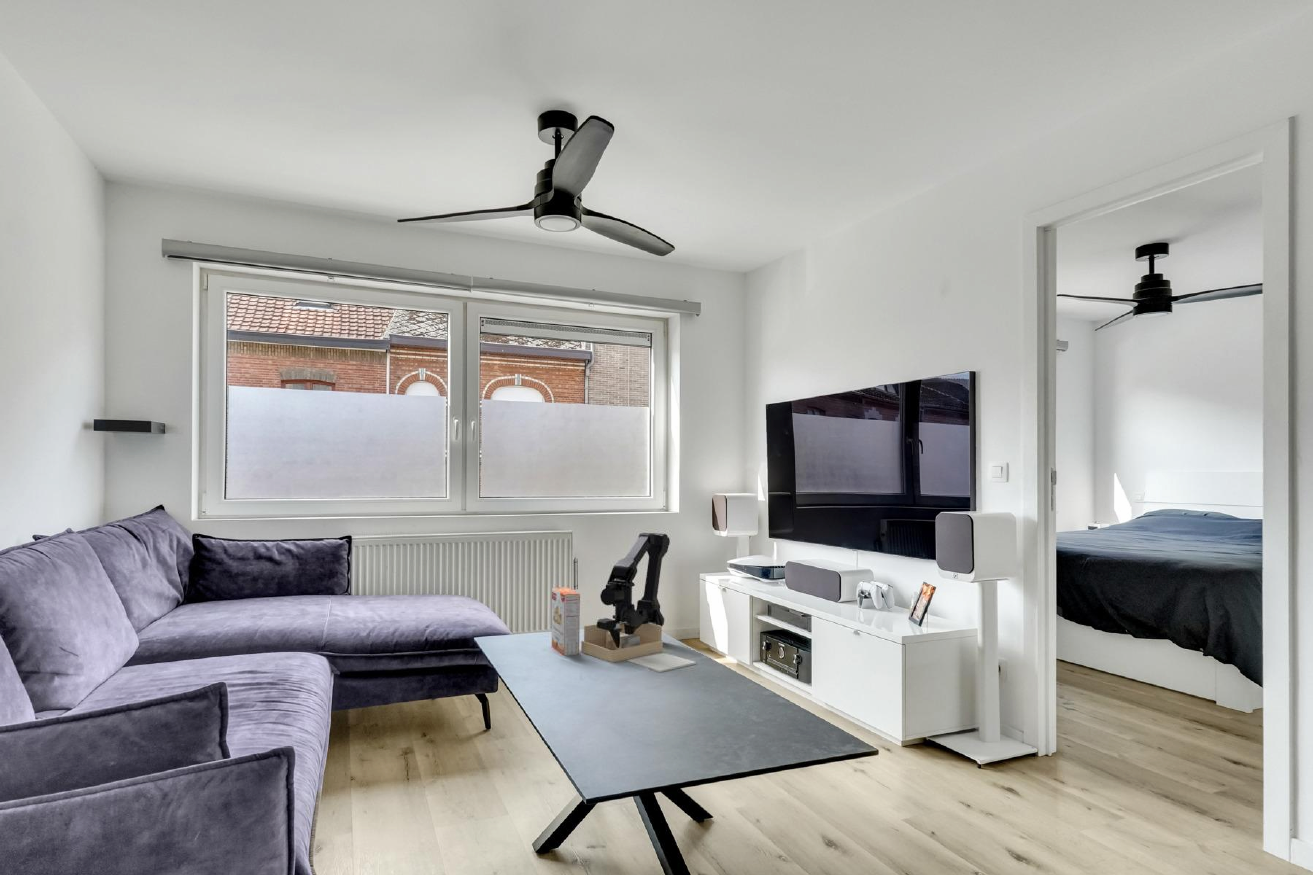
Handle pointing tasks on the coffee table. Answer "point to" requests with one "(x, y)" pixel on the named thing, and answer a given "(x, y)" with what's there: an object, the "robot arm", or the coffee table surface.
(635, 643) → the grey and cream hammer
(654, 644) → the carton
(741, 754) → the coffee table surface
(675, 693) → the coffee table surface
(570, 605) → the cracker box
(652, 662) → the grey mat
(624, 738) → the coffee table surface
